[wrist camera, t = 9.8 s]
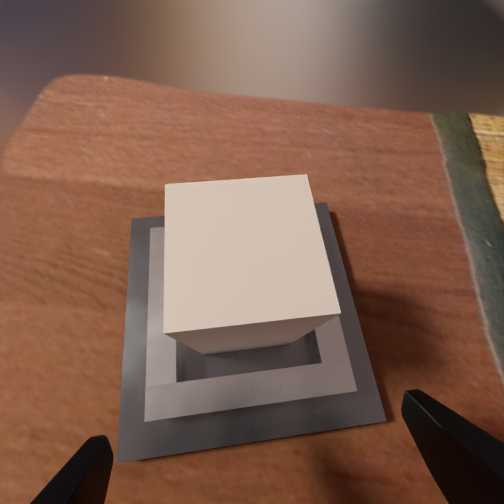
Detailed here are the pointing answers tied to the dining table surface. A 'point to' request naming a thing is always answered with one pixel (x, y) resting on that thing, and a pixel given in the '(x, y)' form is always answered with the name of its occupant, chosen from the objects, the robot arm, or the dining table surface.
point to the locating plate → (235, 370)
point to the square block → (244, 264)
